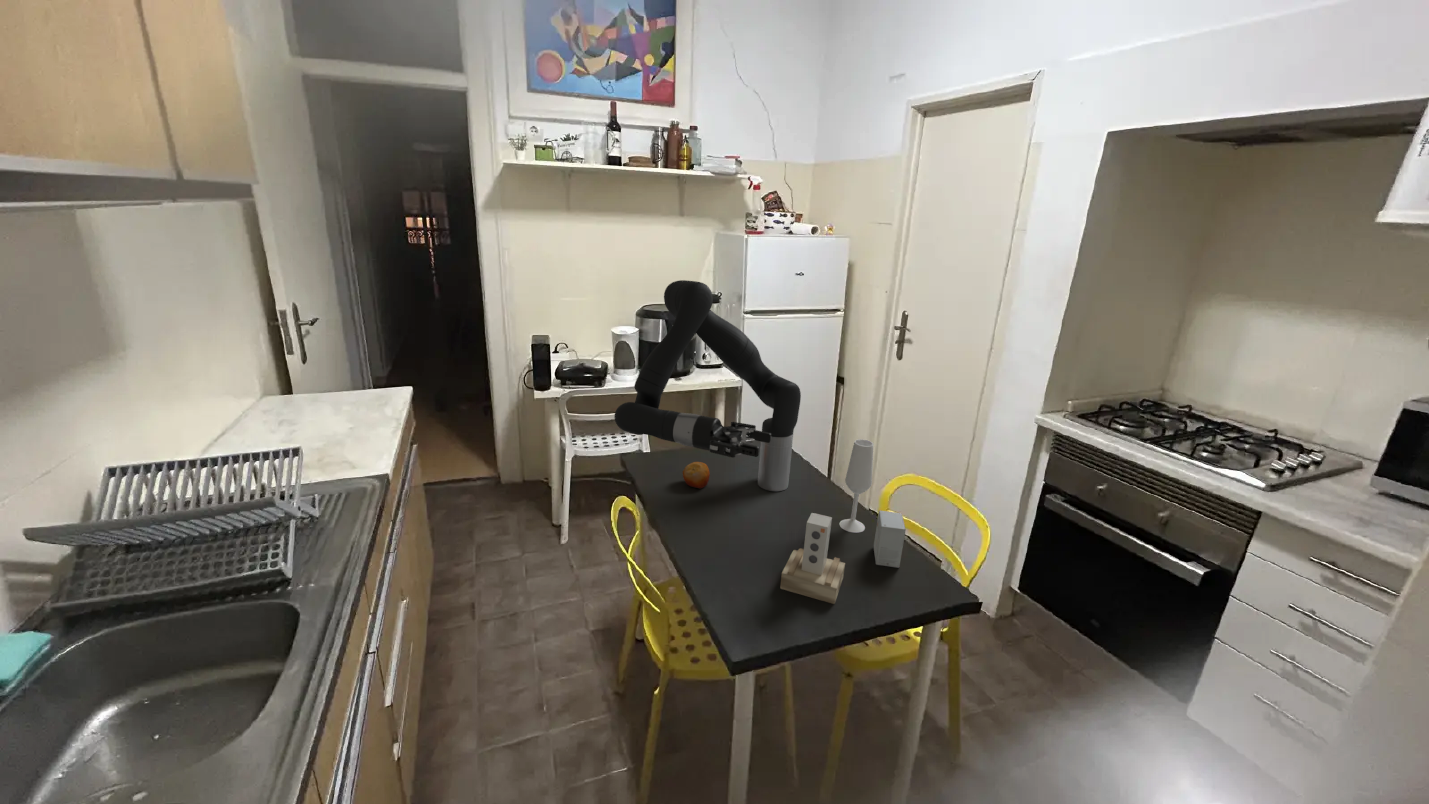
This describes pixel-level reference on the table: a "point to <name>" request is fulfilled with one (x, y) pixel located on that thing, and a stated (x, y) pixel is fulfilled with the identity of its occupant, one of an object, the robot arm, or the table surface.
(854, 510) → the champagne flute
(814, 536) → the tall grey box
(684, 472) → the fruit
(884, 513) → the small box
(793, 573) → the brown wooden ridged block
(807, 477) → the table surface
